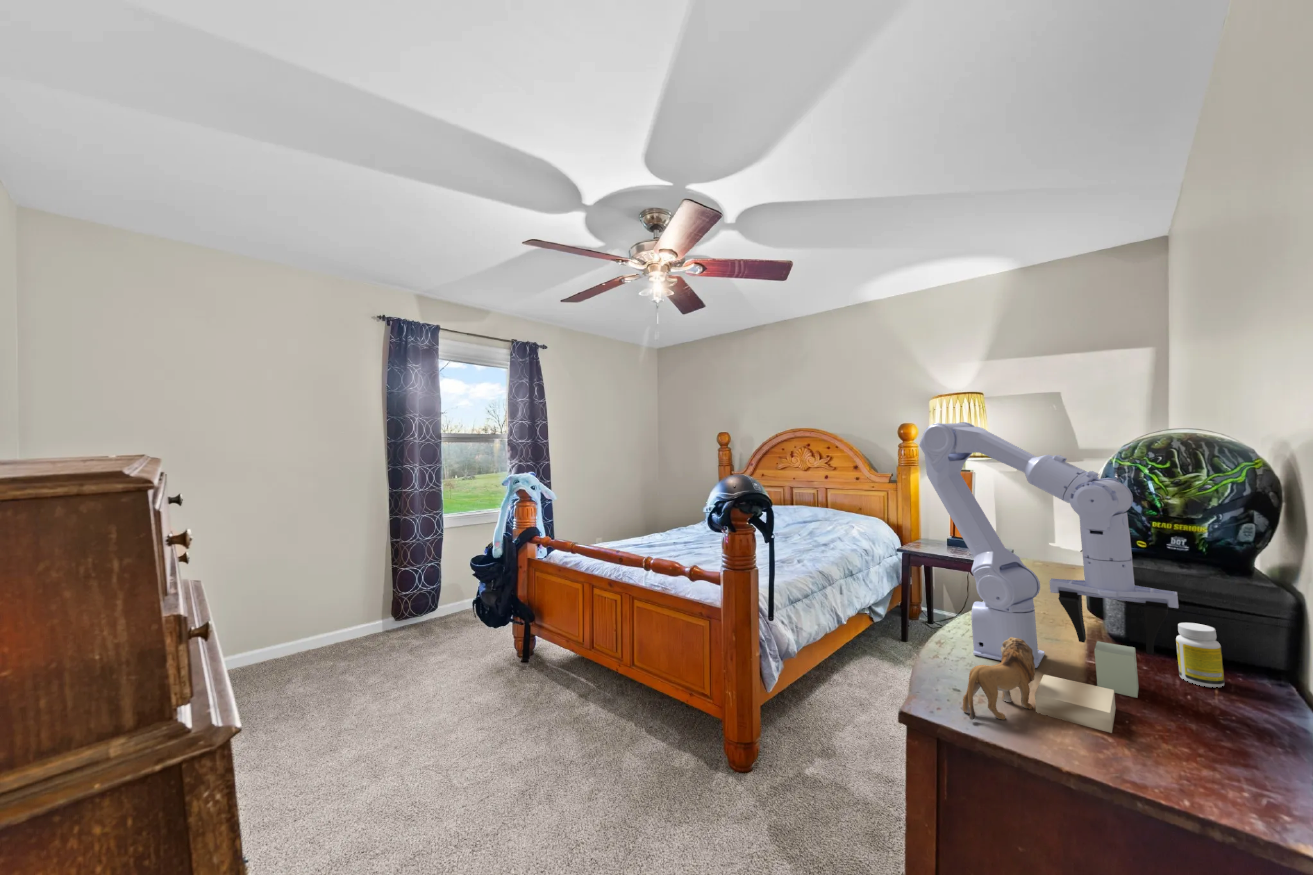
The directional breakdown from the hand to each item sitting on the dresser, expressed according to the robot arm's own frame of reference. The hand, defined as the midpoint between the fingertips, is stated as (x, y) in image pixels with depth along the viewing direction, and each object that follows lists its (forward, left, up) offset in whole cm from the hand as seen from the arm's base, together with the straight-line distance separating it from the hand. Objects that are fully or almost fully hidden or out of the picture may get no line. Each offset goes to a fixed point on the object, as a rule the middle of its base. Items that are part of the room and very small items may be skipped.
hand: (1115, 645), depth 76 cm
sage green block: (0, 0, -6) cm, 6 cm away
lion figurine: (-12, -17, -7) cm, 22 cm away
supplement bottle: (+9, +10, -7) cm, 15 cm away
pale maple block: (-4, -12, -7) cm, 14 cm away
